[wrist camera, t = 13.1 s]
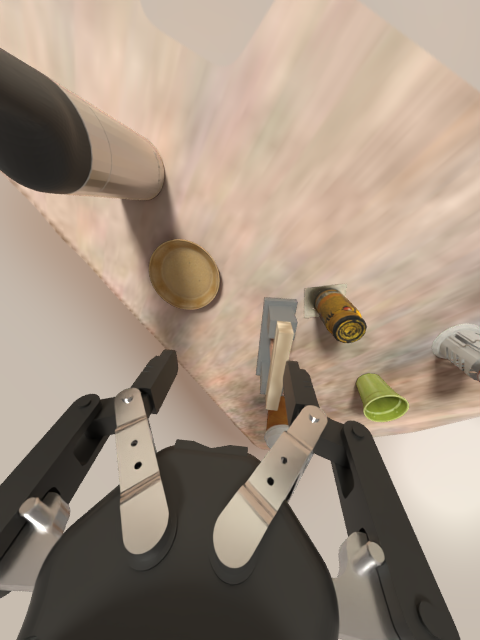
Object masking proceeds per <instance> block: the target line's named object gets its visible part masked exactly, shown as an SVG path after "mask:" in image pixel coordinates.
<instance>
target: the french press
mask: <svg viewBox="0 0 480 640" xmlns="http://www.w3.org/2000/svg"><path fill="white" fill-rule="evenodd" d="M432 351H433V354H435V355H436V356H438V357H440V358H445V359H449V361H451V359H453V361H451V362H452V363H454V365H456V363H459V365H456V366H457V367H459V369H461V370H462V371H464V373H465V374H467V375H468V376H470V377H471V378H473V379H474V380H477V381H479V382H480V327H478V326H477V325H473V324H460V325H456V326H453V327H451V328H448V329H447V330H445V331H444V332H442V333H441V334H439V335H438V337H437V338H436V339H435V340H434V342H433V345H432ZM456 359H459V361H456ZM462 363H464V365H462ZM462 367H464V369H462ZM470 368H471V369H470ZM469 371H476V372H477V373H469Z"/></svg>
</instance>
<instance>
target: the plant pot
mask: <svg viewBox="0 0 480 640" xmlns="http://www.w3.org/2000/svg"><path fill="white" fill-rule="evenodd" d="M356 385H357V388H358V391H359V394H360V397H361V399H362V402H363V408H364V409H363V413H364V415H365V417H366V418H368V419H369V420H371V421H375V422H387V421H392V420H395V419H398V418H400V417H401V416H403V415H404V414H405V413H406V412H407V411H408V409H409V403H408V401H407V400H406V399H405V398H403V397H401V396H400V395H399V394H397V393H396V392H394V391H393V390H392V389H391V388H390V387H389V386H388V385H387V384H386V383H385V381H384V380H383V379H382V378H381V377H380V376H379V375H377V374H370V373H368V374H364V375H362V376H360V377H359V378H358V380H357V382H356Z"/></svg>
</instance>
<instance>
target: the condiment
mask: <svg viewBox="0 0 480 640" xmlns="http://www.w3.org/2000/svg"><path fill="white" fill-rule="evenodd" d="M346 288H347V284H338V285H330V286H322V287H312V288H305V292H304V318H311V317H321V319H322V321H323V323H324V325H325V326H326V328H327V330H328V331H329V332H330V333H331V334H333V336H334V337H335V338H336V340H337V341H340V342H343V343H352V342H355V341H357V340H359V339H360V338H362V337H363V335H364V334H365V332H366V328H367V326H366V323H365V321H364V320H363V319H362V317H361V314H360V312H359V311H358V310H357V309H356V308H355V307H354V306H353V305H352V303H351V302H350V301H349V300H348V299H347V298H346V297H345V295H346ZM313 308H314V309H313Z"/></svg>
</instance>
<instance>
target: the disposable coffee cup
mask: <svg viewBox="0 0 480 640" xmlns="http://www.w3.org/2000/svg"><path fill="white" fill-rule="evenodd" d="M288 429H289V427H288V419H287V412H286V405H285V397H283V396H281V397H280V401H279V406H278V411H275V410H268V418H267V429H266V433H265V436H264V439H265V441H266V444H267V446H268V447H269V448H270V449H271V448H272V446H273V445H274V444H275V442H276V441H277V440H278V438H279V437H280V436H281V434H282V433H283V432H284V431H287V430H288Z"/></svg>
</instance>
